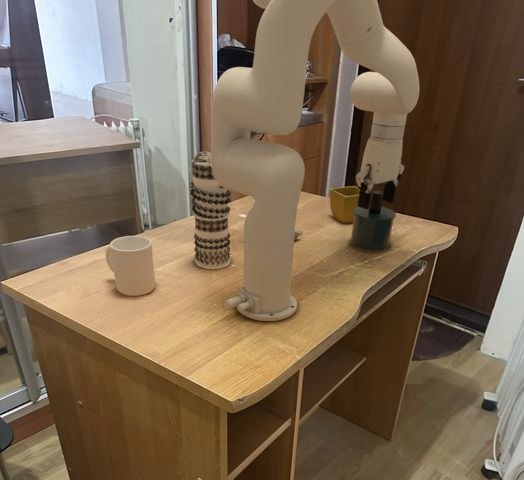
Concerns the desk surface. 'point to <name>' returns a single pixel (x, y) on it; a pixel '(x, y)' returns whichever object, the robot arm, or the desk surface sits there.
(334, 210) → the flower pot
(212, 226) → the decorative candle
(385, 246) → the pot
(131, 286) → the mug
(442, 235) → the desk surface
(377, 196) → the pot lid
